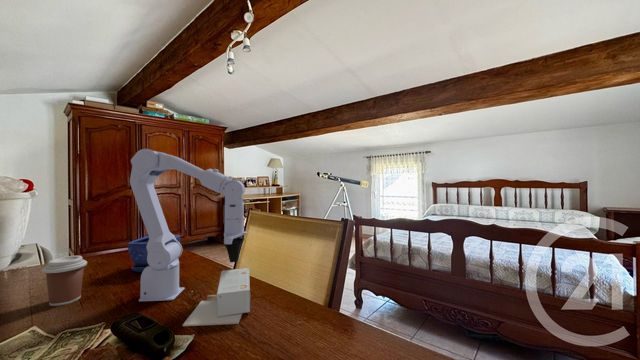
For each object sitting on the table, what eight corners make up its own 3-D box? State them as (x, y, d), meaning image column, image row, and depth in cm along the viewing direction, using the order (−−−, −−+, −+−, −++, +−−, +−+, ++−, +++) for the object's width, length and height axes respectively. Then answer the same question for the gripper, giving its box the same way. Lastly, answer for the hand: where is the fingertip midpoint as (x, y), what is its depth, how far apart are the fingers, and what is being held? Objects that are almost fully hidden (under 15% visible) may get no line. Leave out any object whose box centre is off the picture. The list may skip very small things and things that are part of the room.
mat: (182, 326, 60) (182, 324, 60) (201, 302, 72) (201, 300, 72) (238, 323, 61) (238, 322, 61) (247, 300, 73) (247, 298, 73)
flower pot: (161, 274, 93) (161, 242, 93) (125, 274, 93) (126, 242, 93) (181, 263, 106) (181, 234, 106) (150, 262, 106) (150, 234, 106)
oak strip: (207, 301, 72) (207, 296, 72) (208, 300, 73) (208, 295, 73) (249, 299, 73) (249, 294, 73) (250, 298, 74) (250, 293, 74)
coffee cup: (34, 304, 70) (35, 261, 70) (76, 291, 79) (76, 253, 79) (52, 311, 67) (52, 266, 67) (93, 296, 75) (94, 256, 75)
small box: (221, 290, 76) (216, 317, 63) (221, 270, 75) (216, 293, 63) (249, 286, 78) (250, 312, 65) (249, 267, 77) (249, 289, 65)
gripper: (242, 222, 72) (241, 269, 72) (251, 215, 87) (251, 254, 87) (216, 222, 72) (216, 269, 72) (230, 215, 86) (230, 254, 86)
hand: (234, 261), depth 79 cm, fingers closed
